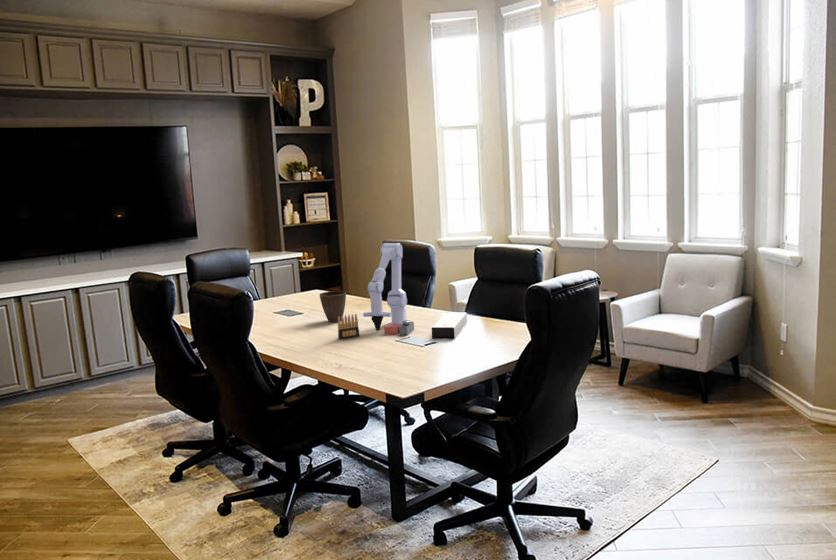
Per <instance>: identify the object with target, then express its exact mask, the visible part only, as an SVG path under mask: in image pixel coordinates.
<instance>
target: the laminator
mask: <svg viewBox="0 0 836 560" xmlns="http://www.w3.org/2000/svg"><path fill="white" fill-rule="evenodd" d="M467 318H468V315H467V312H465V311H463V312H459V311H458V312H453V311H452V312H451V311H450V312H445V313H444V315H442V316H441V318H440V319H438V320H437V322H436V323H435V324H434V325H432V327H431V338H432V339H434V340H436V339H439V340H442V339H443V340H445V339H446V340H455V339H456V338H457V337H458V336H459V334H460V333H461V332H462V330H463V329H464V328H465V326H467V324H468V319H467ZM466 323H467V324H466ZM463 327H464V328H463ZM460 331H461V332H460ZM457 335H458V336H457ZM456 336H457V337H456Z"/></svg>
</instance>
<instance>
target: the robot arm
mask: <svg viewBox="0 0 836 560" xmlns="http://www.w3.org/2000/svg"><path fill="white" fill-rule="evenodd" d="M403 251H404V250H403V246H402V244H401V243H399V242H396V243H394V242H391V243H390V242H383V243H382V245H381V248H380V252H381V258H380V260H379V261H380V262H379V265H378V268H376V269H375V271H374V273H373V276H372V278H371V281H370V282H368V284H367V292H368V295H369V296H370V298H369V299H370V309H371V310H370V311H369V312H368V311H367V312H362V315H363V317H364V318H367V317H371V322H373V324H374V327H375V330H376V332H380V330H381V326H382V325H381V324H382V323H383V319H384V317H385V318H386V317H387V318H391V322H390V323H397V324H403V322H402V321H405V320H407V310H406V306H407V304H408V298H407V293H406V291H404V290H403V289H402V259H403ZM390 261H391V290H390V291H388V293H387V298H386V304H387V306H388V307H389V309H390V312H387V311H383V297H382V292H383V291H384V281H385V278H386V274H387V272H386V269H387V267H388V265H389V263H390Z"/></svg>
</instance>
